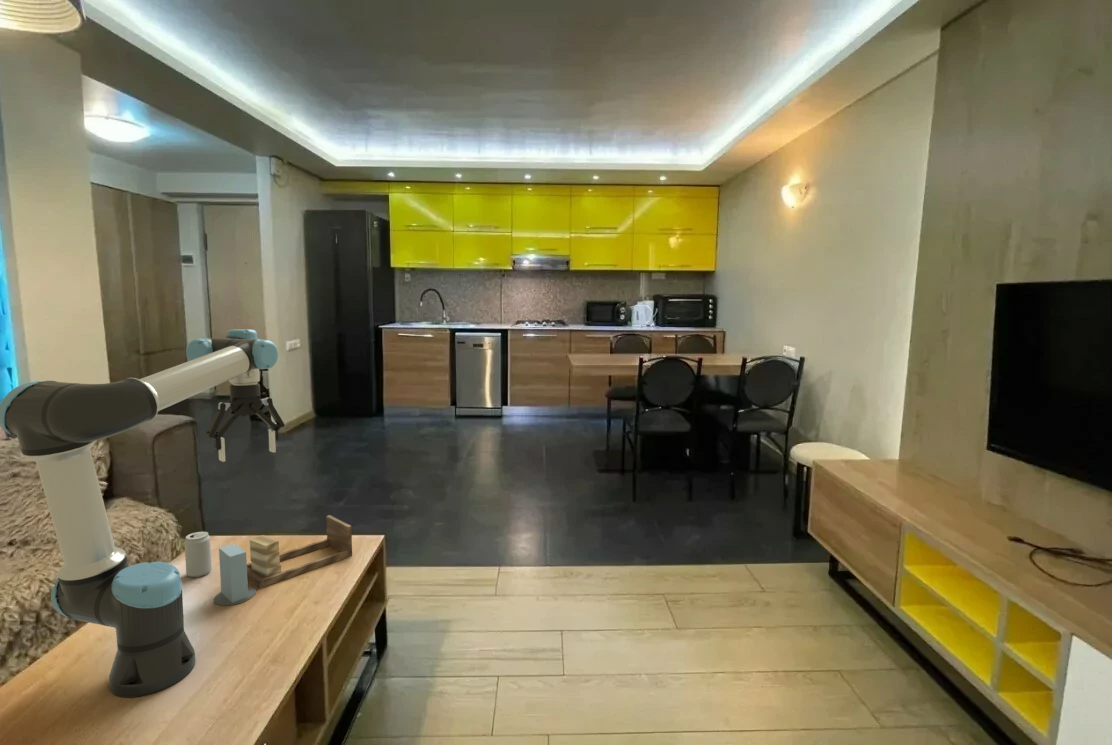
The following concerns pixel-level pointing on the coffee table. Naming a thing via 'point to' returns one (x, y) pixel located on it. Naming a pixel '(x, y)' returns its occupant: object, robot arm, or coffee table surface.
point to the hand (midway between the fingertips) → (248, 456)
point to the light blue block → (233, 572)
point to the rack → (336, 538)
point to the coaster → (224, 601)
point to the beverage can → (198, 554)
